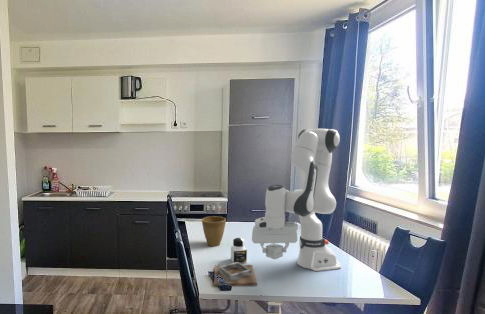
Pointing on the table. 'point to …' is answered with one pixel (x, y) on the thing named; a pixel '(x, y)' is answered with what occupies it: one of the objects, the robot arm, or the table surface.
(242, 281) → the pocket board
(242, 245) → the medicine bottle
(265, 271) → the table surface
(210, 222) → the plant pot
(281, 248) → the small box
